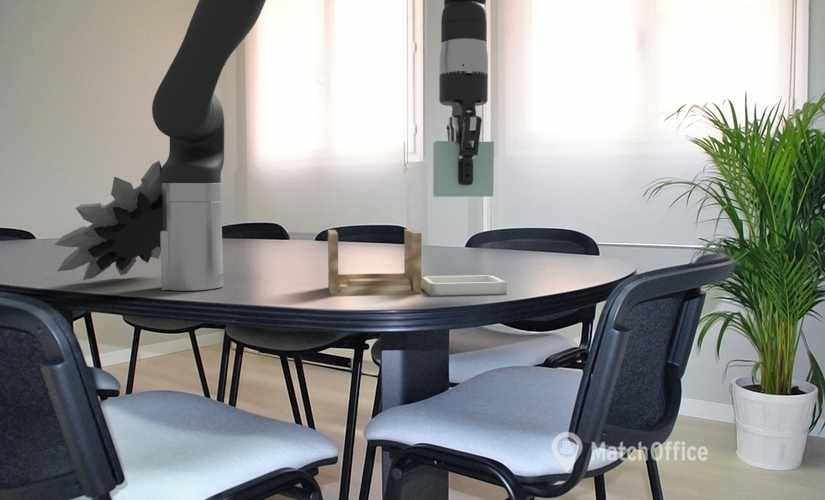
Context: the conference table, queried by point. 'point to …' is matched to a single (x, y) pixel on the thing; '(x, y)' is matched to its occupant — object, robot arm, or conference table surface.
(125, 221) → the decorative piece
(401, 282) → the offcut stack
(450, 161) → the sheet
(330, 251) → the rack
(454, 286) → the tray
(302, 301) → the conference table surface
